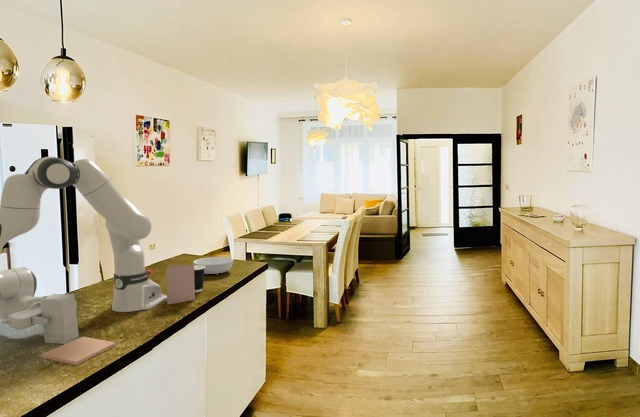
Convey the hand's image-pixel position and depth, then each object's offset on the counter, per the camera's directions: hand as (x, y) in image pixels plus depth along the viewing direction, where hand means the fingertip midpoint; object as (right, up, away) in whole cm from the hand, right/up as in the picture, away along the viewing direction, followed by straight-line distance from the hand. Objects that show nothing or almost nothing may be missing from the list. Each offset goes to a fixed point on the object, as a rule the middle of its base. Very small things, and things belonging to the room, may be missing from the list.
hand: (61, 315), depth 134 cm
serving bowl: (+26, 0, +90) cm, 94 cm away
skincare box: (-1, -8, +1) cm, 9 cm away
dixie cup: (+27, -3, +57) cm, 63 cm away
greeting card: (+24, -5, +41) cm, 48 cm away
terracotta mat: (+10, -9, -7) cm, 15 cm away
